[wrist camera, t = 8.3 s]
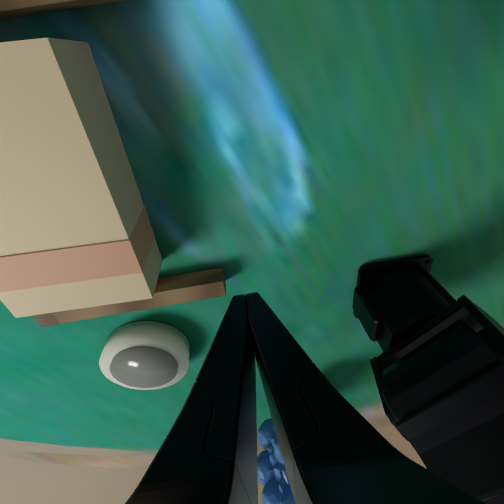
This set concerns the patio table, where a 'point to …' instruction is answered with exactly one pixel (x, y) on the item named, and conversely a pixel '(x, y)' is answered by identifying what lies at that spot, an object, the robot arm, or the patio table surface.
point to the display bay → (167, 288)
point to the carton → (66, 187)
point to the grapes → (272, 468)
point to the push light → (145, 355)
